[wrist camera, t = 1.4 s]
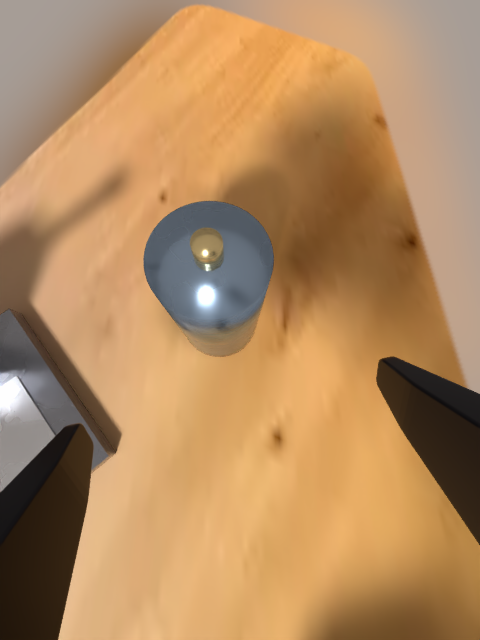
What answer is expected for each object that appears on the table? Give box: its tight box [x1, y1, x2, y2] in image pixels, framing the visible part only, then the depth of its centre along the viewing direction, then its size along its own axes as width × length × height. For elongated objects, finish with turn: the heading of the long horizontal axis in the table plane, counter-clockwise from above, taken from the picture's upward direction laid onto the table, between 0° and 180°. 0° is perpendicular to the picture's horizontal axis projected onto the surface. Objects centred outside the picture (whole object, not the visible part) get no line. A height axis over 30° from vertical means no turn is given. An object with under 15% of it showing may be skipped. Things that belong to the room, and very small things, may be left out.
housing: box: [144, 201, 274, 357], centre depth 16 cm, size 5×5×11 cm
